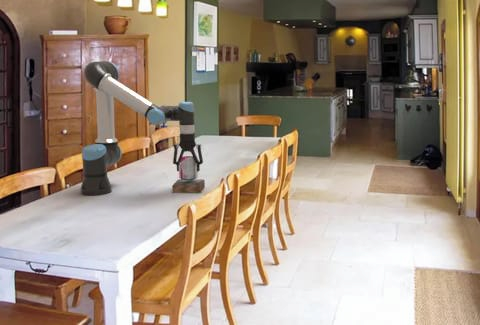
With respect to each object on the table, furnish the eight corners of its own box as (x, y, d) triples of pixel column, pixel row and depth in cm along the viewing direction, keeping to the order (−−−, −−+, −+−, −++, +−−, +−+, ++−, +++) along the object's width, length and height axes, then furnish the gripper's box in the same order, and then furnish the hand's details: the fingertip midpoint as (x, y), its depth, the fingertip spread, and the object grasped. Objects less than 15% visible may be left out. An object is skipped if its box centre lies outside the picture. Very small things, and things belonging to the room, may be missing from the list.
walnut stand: (172, 192, 287) (172, 184, 286) (178, 186, 301) (177, 178, 300) (200, 192, 286) (200, 185, 285) (204, 186, 299) (204, 178, 299)
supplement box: (196, 178, 292) (196, 156, 290) (188, 180, 288) (187, 158, 286) (188, 177, 296) (187, 155, 294) (180, 179, 292) (179, 157, 289)
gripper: (165, 134, 285) (167, 179, 289) (206, 134, 283) (207, 179, 287) (168, 131, 292) (170, 175, 297) (208, 131, 290) (209, 176, 295)
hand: (188, 177), depth 292 cm, fingers closed on supplement box, 8 cm apart
